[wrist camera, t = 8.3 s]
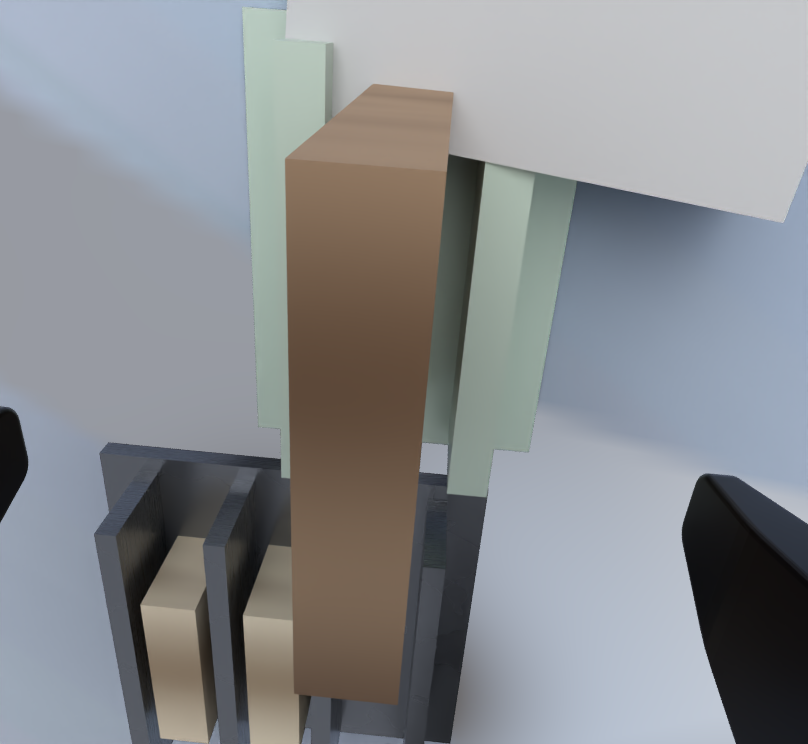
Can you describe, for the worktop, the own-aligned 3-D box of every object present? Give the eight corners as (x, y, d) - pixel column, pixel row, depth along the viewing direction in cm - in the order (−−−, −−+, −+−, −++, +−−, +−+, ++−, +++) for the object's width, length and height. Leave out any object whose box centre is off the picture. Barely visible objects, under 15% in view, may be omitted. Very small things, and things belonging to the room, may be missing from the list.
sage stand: (526, 441, 21) (539, 518, 17) (263, 416, 21) (227, 488, 18) (598, 33, 16) (634, 36, 12) (249, 7, 16) (196, 3, 13)
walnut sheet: (426, 387, 19) (397, 704, 10) (369, 381, 19) (293, 693, 11) (454, 79, 16) (447, 172, 7) (384, 74, 16) (285, 157, 7)
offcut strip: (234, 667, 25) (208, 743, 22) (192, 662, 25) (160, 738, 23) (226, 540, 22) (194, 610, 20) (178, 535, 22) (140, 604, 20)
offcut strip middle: (316, 675, 25) (298, 753, 22) (272, 671, 25) (250, 748, 22) (317, 549, 22) (298, 621, 20) (268, 544, 22) (242, 615, 20)
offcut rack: (450, 729, 27) (449, 824, 24) (148, 696, 27) (107, 786, 24) (487, 478, 21) (492, 559, 18) (108, 442, 22) (47, 515, 18)
